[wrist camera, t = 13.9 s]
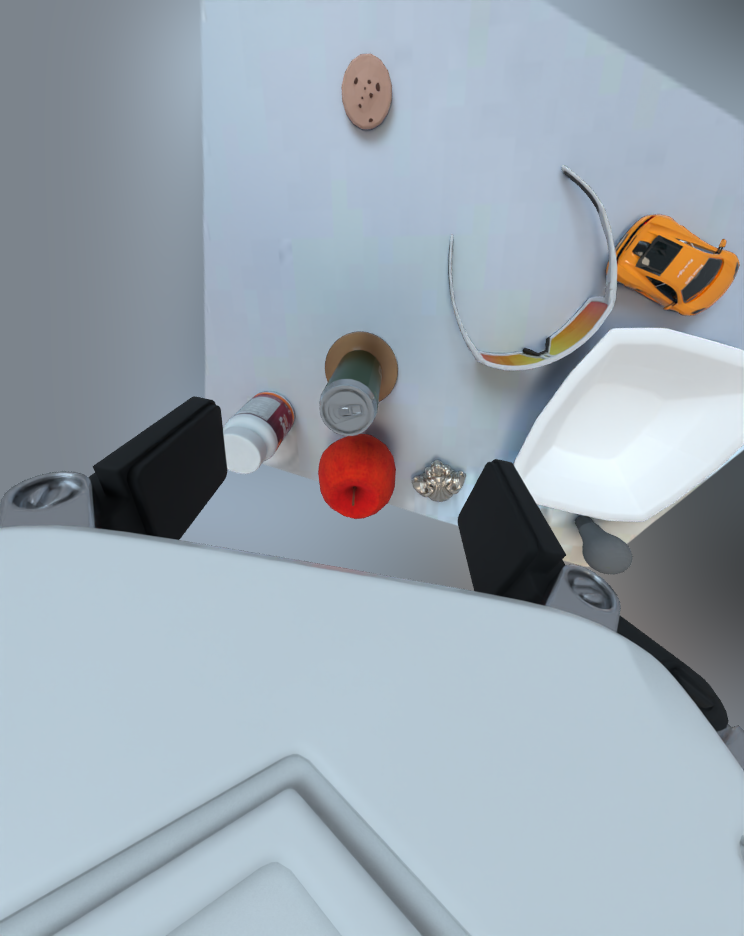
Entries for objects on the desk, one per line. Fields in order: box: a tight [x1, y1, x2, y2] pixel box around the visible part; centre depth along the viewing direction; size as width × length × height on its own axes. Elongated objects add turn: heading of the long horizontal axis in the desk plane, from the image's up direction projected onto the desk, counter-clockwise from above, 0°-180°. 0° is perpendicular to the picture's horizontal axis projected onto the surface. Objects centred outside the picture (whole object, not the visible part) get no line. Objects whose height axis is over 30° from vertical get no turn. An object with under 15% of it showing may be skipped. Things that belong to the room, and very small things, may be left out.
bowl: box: [514, 328, 744, 522], centre depth 36 cm, size 22×23×6 cm
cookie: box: [342, 54, 392, 129], centre depth 23 cm, size 4×4×1 cm
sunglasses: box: [448, 165, 617, 371], centre depth 29 cm, size 14×15×5 cm
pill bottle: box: [223, 391, 295, 474], centre depth 36 cm, size 6×6×11 cm
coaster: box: [325, 332, 398, 402], centre depth 36 cm, size 9×9×1 cm
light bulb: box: [575, 516, 632, 574], centre depth 44 cm, size 6×6×10 cm
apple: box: [318, 434, 396, 519], centre depth 38 cm, size 10×10×12 cm
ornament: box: [412, 460, 466, 502], centre depth 43 cm, size 8×7×4 cm
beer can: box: [319, 350, 382, 436], centre depth 31 cm, size 5×5×12 cm
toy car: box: [606, 214, 740, 316], centre depth 27 cm, size 6×12×3 cm, turn 70°
